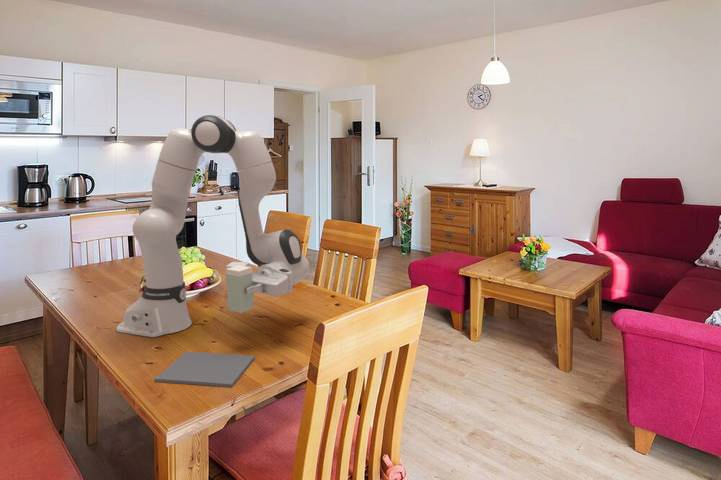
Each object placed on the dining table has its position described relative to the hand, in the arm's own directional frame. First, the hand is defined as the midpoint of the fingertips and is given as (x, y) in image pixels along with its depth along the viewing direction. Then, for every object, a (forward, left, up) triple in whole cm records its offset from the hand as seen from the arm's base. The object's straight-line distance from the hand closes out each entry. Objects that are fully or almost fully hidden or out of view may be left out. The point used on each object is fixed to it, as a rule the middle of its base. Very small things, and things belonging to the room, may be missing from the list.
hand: (237, 289), depth 132 cm
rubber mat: (-4, -14, -18) cm, 23 cm away
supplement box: (-20, +48, -18) cm, 55 cm away
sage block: (0, +1, -6) cm, 6 cm away
